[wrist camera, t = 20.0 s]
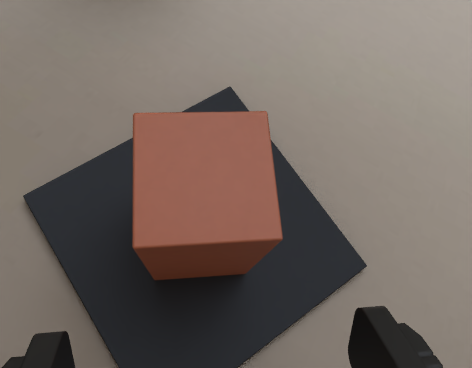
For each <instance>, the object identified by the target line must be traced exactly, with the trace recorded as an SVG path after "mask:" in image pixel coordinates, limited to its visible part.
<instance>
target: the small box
mask: <svg viewBox="0 0 472 368" xmlns="http://www.w3.org/2000/svg"><path fill="white" fill-rule="evenodd" d="M282 239H283V235H282V227H281V219H280V211H279V203H278V195H277V187H276V179H275V171H274V163H273V155H272V147H271V139H270V131H269V123H268V115H267V112H266V111H250V112H176V113H134V115H133V238H132V247H133V249H134V250H135V252H136V253H137V255H138V256H139V258H140V259H141V261H142V262H143V264H144V265H145V267H146V268H147V270H148V271H149V273H150V274H151V276H152V277H153V279H154V280H167V279H181V278H195V277H209V276H223V275H237V274H246V273H247V272H248V271H249V270H250V269H251V268H252V267H253V266H255V265H256V264H257V263H258V262H259V261H260V260H261V259H262V258H263V257H264V256H265V255H266V254H267V253H269V252H270V251H271V250H272V249H273V248H274V247H275V246H276V245H277V244H278V243H279V242H280V241H281V240H282Z"/></svg>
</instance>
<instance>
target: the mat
mask: <svg viewBox="0 0 472 368" xmlns="http://www.w3.org/2000/svg"><path fill="white" fill-rule="evenodd" d="M183 112H249V110H248V109H247V108H246V106H245V105H244V104H243V103H242V101H241V100H240V99H239V97H238V96H237V95H236V93H235V92H234V91H233V89H232V88H231V87H228V88H226V89H224V90H222V91H221V92H219V93H217V94H215V95H213V96H211V97H209V98H207V99H205V100H204V101H202V102H200V103H198V104H196V105H194V106H192V107H190V108H188V109H186V110H185V111H183ZM271 147H272V155H273V163H274V171H275V179H276V187H277V195H278V203H279V211H280V219H281V227H282V235H283V239H282V240H281V241H280V242H279V243H278V244H277V245H276V246H275V247H274V248H273V249H272V250H271V251H270V252H269V253H267V254H266V255H265V256H264V257H263V258H262V259H261V260H260V261H259V262H258V263H257V264H256V265H255V266H253V267H252V268H251V269H250V270H249V271H248V272H247V273H246V274H237V275H223V276H209V277H195V278H181V279H167V280H154V279H153V277H152V276H151V274H150V273H149V271H148V270H147V268H146V267H145V265H144V264H143V262H142V261H141V259H140V258H139V256H138V255H137V253H136V252H135V250H134V249H133V247H132V238H133V138H132V139H130V140H128V141H126V142H124V143H122V144H120V145H118V146H116V147H115V148H113V149H111V150H109V151H107V152H105V153H103V154H101V155H99V156H97V157H96V158H94V159H92V160H90V161H88V162H86V163H84V164H82V165H80V166H79V167H77V168H75V169H73V170H71V171H69V172H67V173H65V174H63V175H61V176H60V177H58V178H56V179H54V180H52V181H50V182H48V183H46V184H44V185H43V186H41V187H39V188H37V189H35V190H33V191H31V192H29V193H27V194H26V195H24V196H23V197H24V199H25V201H26V202H27V204H28V206H29V208H30V210H31V211H32V213H33V215H34V217H35V218H36V220H37V222H38V224H39V226H40V227H41V229H42V231H43V233H44V235H45V236H46V238H47V240H48V242H49V243H50V245H51V247H52V249H53V251H54V252H55V254H56V256H57V258H58V260H59V261H60V263H61V265H62V267H63V268H64V270H65V272H66V274H67V276H68V277H69V279H70V281H71V283H72V285H73V286H74V288H75V290H76V292H77V293H78V295H79V297H80V299H81V301H82V302H83V304H84V306H85V308H86V310H87V311H88V313H89V315H90V317H91V318H92V320H93V322H94V324H95V326H96V327H97V329H98V331H99V333H100V334H101V336H102V338H103V340H104V342H105V343H106V345H107V347H108V349H109V351H110V352H111V354H112V356H113V358H114V359H115V361H116V363H117V365H118V367H119V368H237V367H238V366H240V365H241V364H242V363H243V362H245V361H246V360H247V359H249V358H250V357H251V356H252V355H254V354H255V353H256V352H258V351H259V350H260V349H261V348H263V347H264V346H265V345H267V344H268V343H269V342H270V341H272V340H273V339H274V338H275V337H277V336H278V335H279V334H281V333H282V332H283V331H284V330H286V329H287V328H288V327H290V326H291V325H292V324H293V323H295V322H296V321H297V320H299V319H300V318H301V317H302V316H304V315H305V314H306V313H307V312H309V311H310V310H311V309H313V308H314V307H315V306H316V305H318V304H319V303H320V302H322V301H323V300H324V299H325V298H327V297H328V296H329V295H331V294H332V293H333V292H334V291H336V290H337V289H338V288H339V287H341V286H342V285H343V284H345V283H346V282H347V281H348V280H350V279H351V278H352V277H354V276H355V275H356V274H357V273H359V272H360V271H361V270H363V269H364V268H365V267H366V266H367V265H366V264H365V263H364V261H363V260H362V259H361V257H360V256H359V255H358V253H357V252H356V251H355V249H354V248H353V247H352V245H351V244H350V243H349V242H348V240H347V239H346V238H345V236H344V235H343V234H342V232H341V231H340V230H339V228H338V227H337V226H336V224H335V223H334V222H333V221H332V219H331V218H330V217H329V215H328V214H327V213H326V211H325V210H324V209H323V207H322V206H321V205H320V203H319V202H318V201H317V200H316V198H315V197H314V196H313V194H312V193H311V192H310V190H309V189H308V188H307V186H306V185H305V184H304V183H303V181H302V180H301V179H300V177H299V176H298V175H297V173H296V172H295V171H294V169H293V168H292V167H291V165H290V164H289V163H288V162H287V160H286V159H285V158H284V156H283V155H282V154H281V152H280V151H279V150H278V148H277V147H276V146H275V144H274V143H273V142H272V141H271Z"/></svg>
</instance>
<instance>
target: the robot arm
mask: <svg viewBox="0 0 472 368" xmlns="http://www.w3.org/2000/svg"><path fill="white" fill-rule="evenodd" d="M348 355H349V361H350V364H351V367H352V368H443V365H442V364H441V363H440V361H439V360H438V358H437V357H436V356H434V355H433V352H432V350H431V349H430V348H429V346H428V345H427V343H426V342H425V341H424V339H423V338H422V337H421V336H420V335H419V334H418V333H416V332H415V331H414V330H413V329H411V328H410V327H409V326H408V325H406V324H405V323H400V324H397V322H396V321H395V319H394V318H393V317H392V315H391V314H390V312H389V311H388V309H387V308H386V307H384V306H375V307H363V308H357V309H356V311H355V315H354V320H353V325H352V330H351V335H350V340H349V345H348ZM2 368H75V364H74V359H73V355H72V350H71V345H70V340H69V336H68V333H67V332H66V331H63V332H51V333H38V334H35V335H34V336H33V338H32V340H31V342H30V345H29V347H28V349H27V352H26V354H25V356H22V357H11V358H10V359H9V360H8V361H7V363H6V364H5V365H4V366H3V367H2Z"/></svg>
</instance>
